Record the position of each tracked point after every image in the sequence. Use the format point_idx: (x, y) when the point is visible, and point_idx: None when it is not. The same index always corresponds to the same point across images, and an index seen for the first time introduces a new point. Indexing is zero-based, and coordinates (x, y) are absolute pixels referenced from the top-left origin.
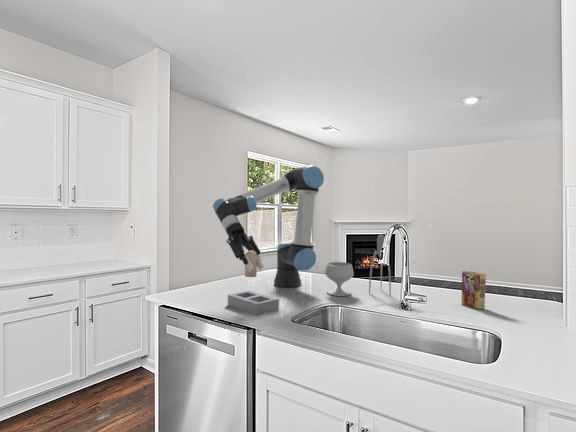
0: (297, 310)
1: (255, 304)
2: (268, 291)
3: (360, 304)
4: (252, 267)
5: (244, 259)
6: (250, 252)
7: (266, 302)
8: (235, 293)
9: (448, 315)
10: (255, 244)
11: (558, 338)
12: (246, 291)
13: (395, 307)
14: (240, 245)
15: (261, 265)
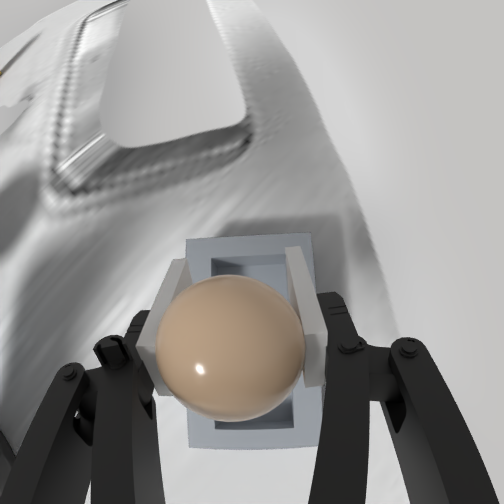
0: (157, 208)
1: (311, 240)
2: None
3: (25, 161)
4: (299, 249)
5: (348, 316)
6: (264, 307)
7: (256, 236)
8: (277, 446)
9: (36, 64)
10: (21, 466)
11: (77, 3)
12: (211, 443)
13: (21, 117)
14: (350, 500)
15: (185, 270)
